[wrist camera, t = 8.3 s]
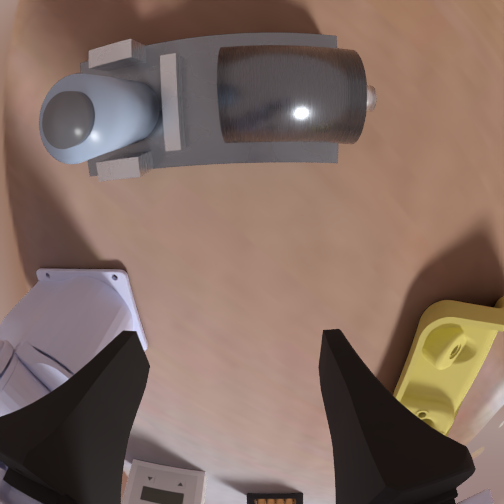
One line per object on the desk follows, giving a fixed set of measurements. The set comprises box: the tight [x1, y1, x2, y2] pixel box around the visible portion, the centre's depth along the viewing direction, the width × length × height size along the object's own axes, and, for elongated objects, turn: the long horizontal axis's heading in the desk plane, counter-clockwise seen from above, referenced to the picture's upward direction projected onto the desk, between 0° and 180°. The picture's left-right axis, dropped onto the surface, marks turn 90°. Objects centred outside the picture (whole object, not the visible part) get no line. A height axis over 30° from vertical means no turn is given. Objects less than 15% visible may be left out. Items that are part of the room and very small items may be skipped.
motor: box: [80, 33, 376, 182], centre depth 13 cm, size 15×7×7 cm, turn 92°
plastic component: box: [393, 297, 504, 436], centre depth 24 cm, size 20×7×10 cm
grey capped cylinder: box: [39, 73, 159, 164], centre depth 11 cm, size 4×4×6 cm
